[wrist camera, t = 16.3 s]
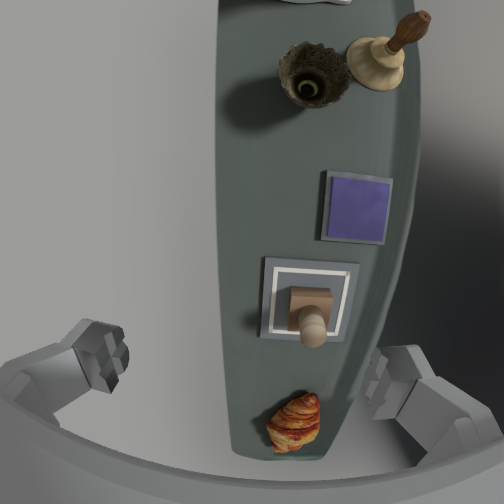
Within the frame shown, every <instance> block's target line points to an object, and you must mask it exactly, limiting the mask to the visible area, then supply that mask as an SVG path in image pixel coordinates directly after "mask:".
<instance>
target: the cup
mask: <svg viewBox="0 0 504 504" xmlns="http://www.w3.org/2000/svg"><path fill="white" fill-rule="evenodd" d="M342 62H343V60H342V57H341V55H340V54H339V53H338V54H337V53H336V51H335V50H334V49H333V48H327V49H325V48H324V45H323V44H322V43H320V44H318V45H314V44H313V43H311V42H308V41H306V42H303V43H301V44H299V45H298V46H296V45H293V46H291V47H290V51H289V52H288V53H287V54H285V56H284V58H283V57H281V58H280V61H279V66H278V70H277V73H278V77H279V80H280V83H281V86H282V88H283V90H284V92H285V93H286V95H287V96H288V97H289V98H290V100H292V101H293V102H294V103H296V104H297V105H299V106H302V107H305V108H321V107H325V106H328V105H330V104H333V103H335V102H337V101H339V100H340V99H341V97H342V96H343V95H344V92H345V91H346V90H347V89H348V88H349V83H350V81H351V74H350V73H349V72H348V71H347V69H348V64H346V63H342ZM305 84H309V85H311V86H312V87H313V89H314V92H313V94H312V95H310V96H306V95H304V94H303V93H302V92H301V87H302V86H303V85H305Z"/></svg>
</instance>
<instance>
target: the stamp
mask: <svg viewBox="0 0 504 504" xmlns="http://www.w3.org/2000/svg"><path fill="white" fill-rule="evenodd" d="M332 303H333V295H332V293H331V290H330V288H318V287H300V286H291V289H290V298H289V307H288V316H287V331H291V332H300V340H301V342H302V343H303V344H304V345H305V346H307V347H318V346H320V345H322V344H323V343H324V342H325V341H326V339H327V329H328V324H329V319H330V314H331V309H332Z"/></svg>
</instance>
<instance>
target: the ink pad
mask: <svg viewBox="0 0 504 504" xmlns="http://www.w3.org/2000/svg"><path fill="white" fill-rule="evenodd" d="M392 184H393V179H391V178H384V177H378V176H371V175H364V174H356V173H348V172H340V171H330V170H326V180H325V192H324V204H323V214H322V224H321V234H320V239H321V240H327V241H340V242H352V243H365V244H377V245H384V243H385V237H386V231H387V224H388V217H389V210H390V202H391V193H392Z"/></svg>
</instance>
